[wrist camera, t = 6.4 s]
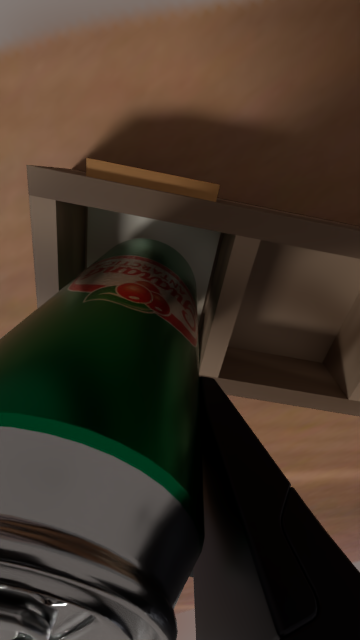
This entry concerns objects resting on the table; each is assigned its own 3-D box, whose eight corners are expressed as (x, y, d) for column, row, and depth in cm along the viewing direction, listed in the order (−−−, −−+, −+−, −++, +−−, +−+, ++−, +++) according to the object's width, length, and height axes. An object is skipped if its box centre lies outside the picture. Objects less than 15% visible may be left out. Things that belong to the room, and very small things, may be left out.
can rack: (436, 388, 19) (494, 438, 15) (72, 326, 17) (41, 364, 14) (548, 251, 14) (668, 275, 11) (70, 154, 13) (24, 145, 9)
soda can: (214, 265, 13) (305, 619, 3) (170, 342, 15) (120, 711, 5) (117, 216, 12) (-363, 439, 2) (86, 306, 14) (-211, 651, 4)
